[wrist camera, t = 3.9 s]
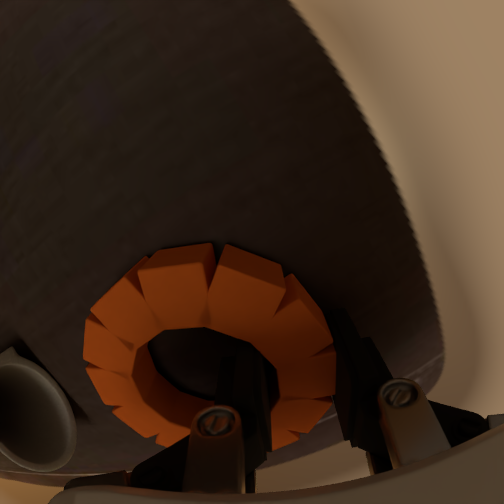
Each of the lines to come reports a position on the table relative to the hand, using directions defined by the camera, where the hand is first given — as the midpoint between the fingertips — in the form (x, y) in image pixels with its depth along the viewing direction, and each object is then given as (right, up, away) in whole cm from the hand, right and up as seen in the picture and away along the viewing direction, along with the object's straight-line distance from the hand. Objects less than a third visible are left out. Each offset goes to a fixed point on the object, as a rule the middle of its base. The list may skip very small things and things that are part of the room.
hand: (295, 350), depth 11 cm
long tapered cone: (-21, -8, +3) cm, 22 cm away
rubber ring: (-3, 0, 0) cm, 3 cm away
